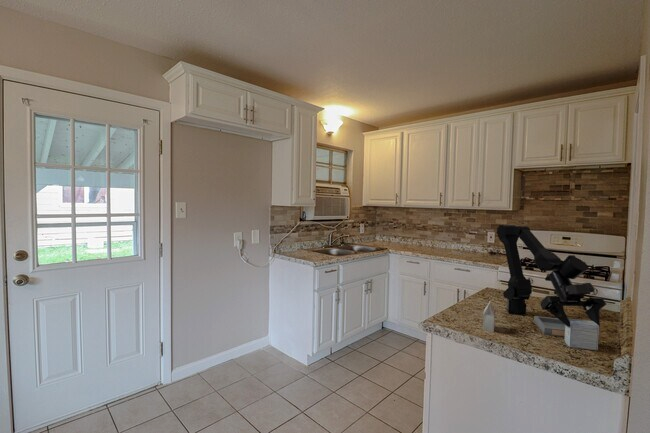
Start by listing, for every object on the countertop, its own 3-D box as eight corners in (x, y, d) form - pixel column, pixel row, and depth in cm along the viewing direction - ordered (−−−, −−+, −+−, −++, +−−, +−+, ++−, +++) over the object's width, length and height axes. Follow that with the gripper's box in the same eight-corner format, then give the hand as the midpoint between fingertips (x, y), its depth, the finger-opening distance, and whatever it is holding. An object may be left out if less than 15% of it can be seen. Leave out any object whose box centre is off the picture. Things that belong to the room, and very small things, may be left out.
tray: (544, 334, 116) (544, 328, 115) (533, 321, 128) (534, 315, 128) (580, 339, 112) (581, 332, 112) (566, 325, 124) (566, 319, 124)
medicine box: (591, 345, 107) (593, 320, 107) (598, 351, 103) (599, 325, 103) (564, 341, 110) (565, 317, 109) (569, 347, 106) (570, 321, 105)
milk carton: (482, 330, 119) (483, 304, 119) (483, 324, 125) (484, 299, 124) (493, 332, 117) (494, 305, 117) (494, 326, 123) (495, 301, 123)
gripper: (546, 272, 110) (566, 315, 100) (603, 274, 109) (630, 317, 98) (532, 289, 119) (550, 329, 108) (585, 290, 117) (608, 332, 107)
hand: (583, 327), depth 105 cm, fingers open, 9 cm apart
